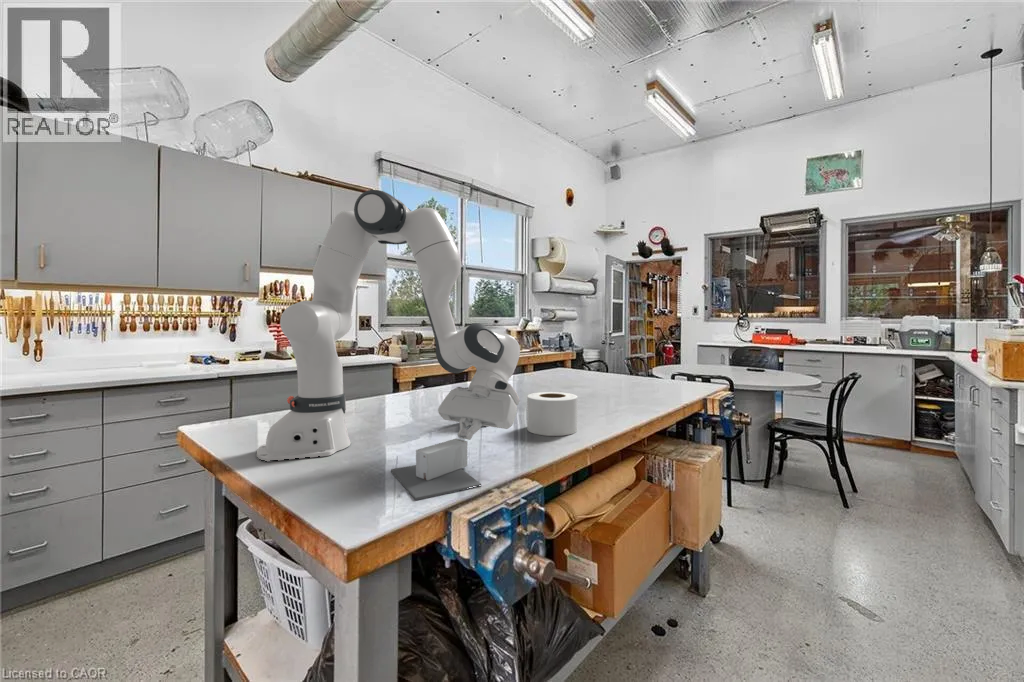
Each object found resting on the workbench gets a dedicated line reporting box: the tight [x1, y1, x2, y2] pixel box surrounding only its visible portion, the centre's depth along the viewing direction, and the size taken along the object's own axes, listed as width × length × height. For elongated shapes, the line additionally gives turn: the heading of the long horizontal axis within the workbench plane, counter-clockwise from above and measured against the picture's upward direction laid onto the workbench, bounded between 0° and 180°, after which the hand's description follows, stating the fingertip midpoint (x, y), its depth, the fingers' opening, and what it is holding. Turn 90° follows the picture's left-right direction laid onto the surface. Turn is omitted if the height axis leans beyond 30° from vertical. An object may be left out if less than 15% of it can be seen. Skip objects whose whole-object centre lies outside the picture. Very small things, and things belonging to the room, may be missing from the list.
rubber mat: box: [390, 464, 482, 501], centre depth 97 cm, size 14×18×1 cm
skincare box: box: [415, 438, 468, 481], centre depth 99 cm, size 6×4×12 cm
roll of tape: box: [526, 391, 578, 437], centre depth 137 cm, size 16×15×11 cm
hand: (463, 437), depth 103 cm, fingers closed
